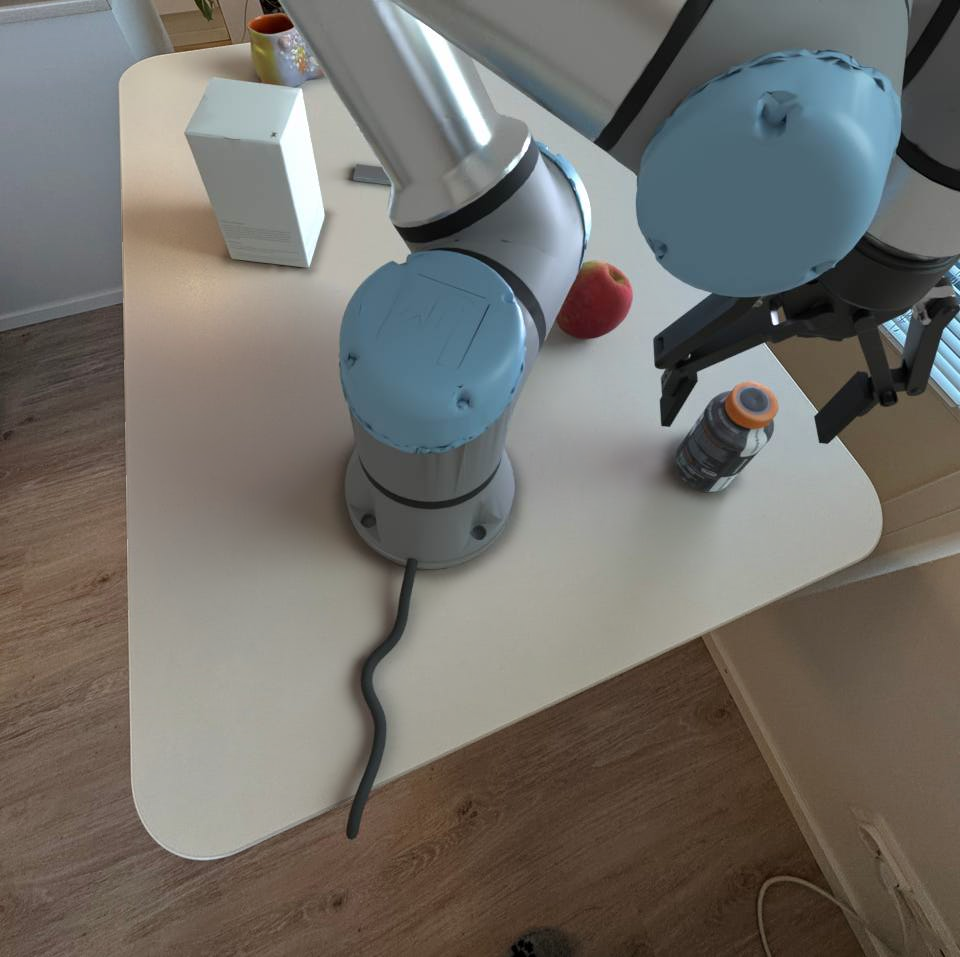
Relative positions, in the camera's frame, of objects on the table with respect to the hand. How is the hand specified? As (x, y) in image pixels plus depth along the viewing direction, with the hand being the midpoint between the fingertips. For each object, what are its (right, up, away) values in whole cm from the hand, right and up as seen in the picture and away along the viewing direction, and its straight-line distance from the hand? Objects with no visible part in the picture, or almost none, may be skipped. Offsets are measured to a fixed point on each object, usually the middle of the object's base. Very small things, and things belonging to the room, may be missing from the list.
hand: (742, 422), depth 54 cm
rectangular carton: (-45, +23, +18) cm, 54 cm away
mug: (-47, +49, +31) cm, 75 cm away
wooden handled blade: (-27, +31, +23) cm, 48 cm away
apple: (-11, +12, +15) cm, 22 cm away
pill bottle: (-1, -4, +7) cm, 8 cm away
